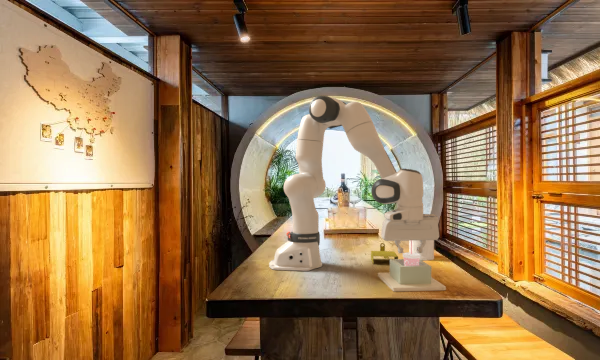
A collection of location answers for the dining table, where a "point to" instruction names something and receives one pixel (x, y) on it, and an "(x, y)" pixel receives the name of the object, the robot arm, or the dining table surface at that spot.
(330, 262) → the dining table surface
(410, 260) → the beverage cup
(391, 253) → the bracket
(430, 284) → the cup well
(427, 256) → the jar
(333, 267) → the dining table surface
